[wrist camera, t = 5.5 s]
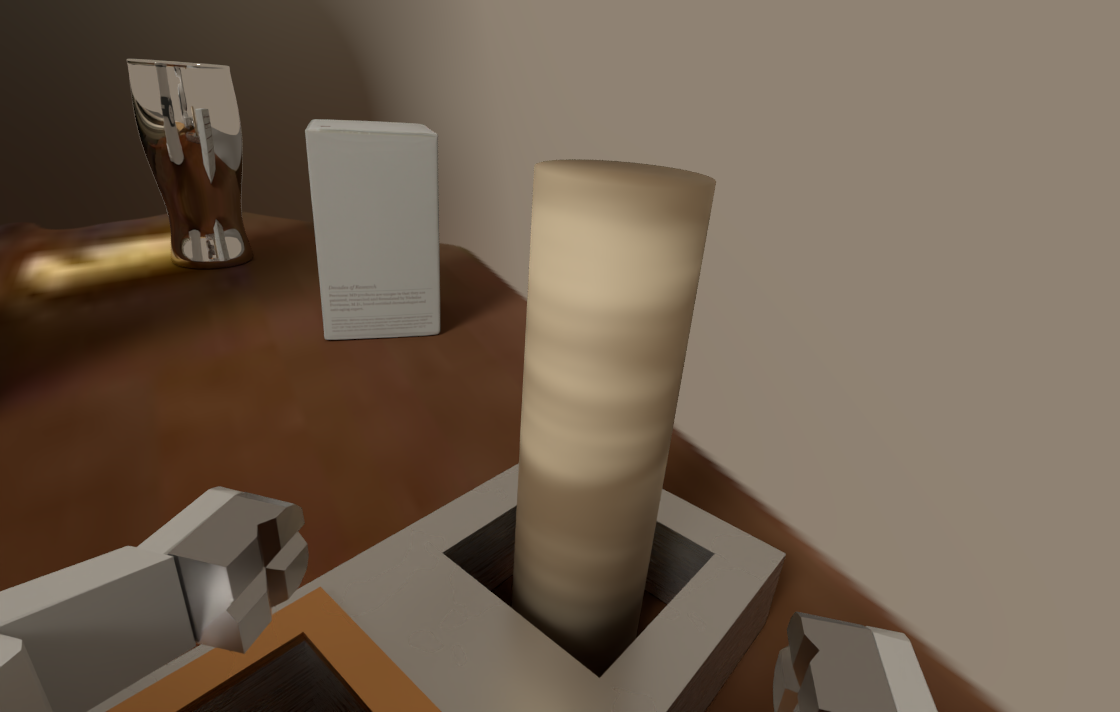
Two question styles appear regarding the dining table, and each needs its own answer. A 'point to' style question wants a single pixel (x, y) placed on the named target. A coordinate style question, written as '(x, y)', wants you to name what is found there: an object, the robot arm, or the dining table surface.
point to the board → (480, 628)
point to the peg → (601, 390)
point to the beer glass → (194, 157)
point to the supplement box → (376, 227)
